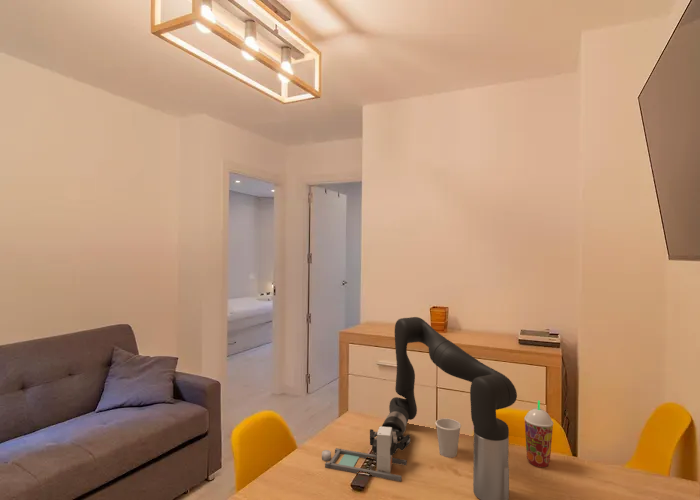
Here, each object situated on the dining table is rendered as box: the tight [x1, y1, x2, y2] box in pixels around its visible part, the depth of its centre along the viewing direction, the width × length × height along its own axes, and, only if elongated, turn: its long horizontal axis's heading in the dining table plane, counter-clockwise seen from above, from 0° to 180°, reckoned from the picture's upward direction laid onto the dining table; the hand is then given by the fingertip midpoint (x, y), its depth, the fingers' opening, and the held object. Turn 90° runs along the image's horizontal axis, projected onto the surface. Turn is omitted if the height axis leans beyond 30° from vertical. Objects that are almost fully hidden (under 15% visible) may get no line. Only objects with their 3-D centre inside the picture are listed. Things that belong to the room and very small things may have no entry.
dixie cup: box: [435, 417, 462, 459], centre depth 134 cm, size 8×8×10 cm
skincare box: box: [376, 425, 393, 474], centre depth 124 cm, size 6×4×12 cm
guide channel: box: [321, 447, 408, 483], centre depth 127 cm, size 27×10×2 cm, turn 72°
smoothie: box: [524, 400, 554, 468], centre depth 128 cm, size 8×8×20 cm
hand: (383, 450), depth 122 cm, fingers closed on skincare box, 4 cm apart
